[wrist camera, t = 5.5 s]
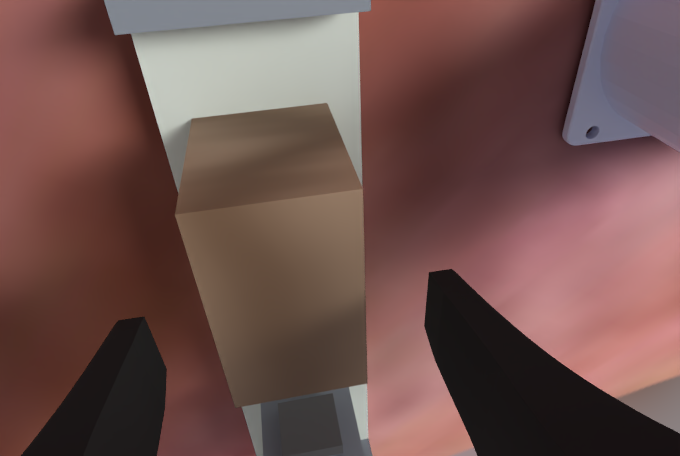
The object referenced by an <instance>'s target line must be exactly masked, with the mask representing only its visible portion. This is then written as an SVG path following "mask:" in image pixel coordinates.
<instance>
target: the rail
mask: <svg viewBox="0 0 680 456" xmlns="http://www.w3.org/2000/svg"><path fill="white" fill-rule="evenodd" d="M104 2H105V5H106V9H107V12H108V15H109V18H110V21H111V24H112V28H113V31H114V34H115V35H121V34H131V36H132V39H133V43H134V46H135V49H136V53H137V56H138V60H139V63H140V66H141V70H142V73H143V76H144V80H145V83H146V86H147V90H148V93H149V97H150V100H151V103H152V107H153V110H154V113H155V117H156V120H157V123H158V127H159V130H160V134H161V137H162V140H163V144H164V147H165V150H166V154H167V157H168V160H169V164H170V167H171V171H172V174H173V177H174V181H175V184H176V187H177V191H178V194H179V188H180V182H181V177H182V171H183V165H184V160H185V154H186V148H187V143H188V137H189V131H190V126H191V120H192V118H201V117H209V116H218V115H227V114H235V113H244V112H253V111H261V110H270V109H278V108H287V107H296V106H304V105H313V104H322V103H327V104H328V106H329V108H330V111H331V113H332V116H333V118H334V120H335V123H336V125H337V128H338V130H339V132H340V135H341V137H342V140H343V142H344V144H345V147H346V149H347V152H348V154H349V156H350V159H351V161H352V164H353V166H354V169H355V171H356V173H357V176H358V178H359V181H360V183H361V185H362V146H361V103H360V60H359V16H358V12H365V11H371V0H104ZM242 409H243V413H244V416H245V419H246V423H247V426H248V429H249V433H250V436H251V439H252V443H253V446H254V450H255V453H256V456H372V452H371V448H370V444H369V439H368V406H367V384H362V385H357V386H351V387H346V388H341V389H335V390H330V391H324V392H319V393H314V394H308V395H303V396H298V397H292V398H287V399H281V400H276V401H271V402H265V403H260V404H254V405H249V406H244V407H242Z"/></svg>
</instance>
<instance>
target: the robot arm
mask: <svg viewBox="0 0 680 456" xmlns="http://www.w3.org/2000/svg"><path fill="white" fill-rule="evenodd" d="M591 127H593V128H592V130H591V131H590V132H589V133H588V134H586V132H587V130H588V129H589V128H591ZM645 136H654V137H655V138H657V139H659V140H660V141H662V142H663V143H665V144H667V145H668V146H670V147H672V148H673V149H675V150H676V151H678V152H680V0H596V1H595V5H594V9H593V13H592V17H591V21H590V25H589V29H588V33H587V37H586V41H585V45H584V49H583V53H582V57H581V61H580V65H579V69H578V72H577V76H576V80H575V84H574V88H573V92H572V96H571V100H570V104H569V108H568V112H567V116H566V120H565V124H564V128H563V133H562V137H563V139H564V140H565V141H566V142H567V143H569V144H570V145H572V146H578V145H585V144H593V143H600V142H608V141H615V140H623V139H630V138H638V137H645ZM424 326H425V330H426V333H427V336H428V339H429V343H430V346H431V349H432V352H433V355H434V358H435V361H436V363H437V366H438V368H439V370H440V373H441V375H442V377H443V379H444V381H445V384H446V386H447V388H448V390H449V392H450V395H451V397H452V399H453V401H454V403H455V406H456V408H457V410H458V412H459V414H460V417H461V419H462V421H463V423H464V425H465V428H466V430H467V432H468V434H469V436H470V439H471V441H472V443H473V446H474V448H475V451H476V453H477V456H680V434H679V433H678V432H676V431H674V430H672V429H670V428H668V427H666V426H664V425H662V424H659V423H658V422H656V421H654V420H652V419H651V418H649V417H647V416H645V415H643V414H641V413H640V412H638V411H636V410H634V409H633V408H631V407H629V406H628V405H626V404H624V403H622V402H621V401H619V400H617V399H616V398H614V397H612V396H611V395H609V394H607V393H605V392H604V391H602V390H600V389H599V388H597V387H596V386H594V385H593V384H591V383H589V382H588V381H586V380H585V379H583V378H582V377H580V376H579V375H577V374H576V373H574V372H573V371H572V370H570V369H569V368H567V367H566V366H564V365H563V364H561V363H560V362H559V361H557V360H556V359H555V358H553V357H552V356H551V355H549V354H548V353H547V352H545V351H544V350H543V349H541V348H540V347H539V346H538V345H536V344H535V343H534V342H533V341H531V340H530V339H529V338H528V337H526V336H525V335H524V334H523V333H522V332H520V331H519V330H518V329H517V328H516V327H514V326H513V325H512V324H511V323H510V322H509V321H508V320H506V319H505V318H504V317H503V316H502V315H501V314H499V313H498V312H497V311H496V310H495V309H494V308H493V307H492V306H491V305H489V304H488V303H487V302H486V301H485V300H484V299H483V298H482V297H481V296H480V295H479V294H478V293H477V292H476V291H475V290H473V289H472V288H471V287H470V286H469V285H468V284H467V283H466V282H465V281H464V280H463V279H462V278H461V277H460V276H459V275H458V274H457V273H456V272H455V271H453V270H452V269H449V270H442V271H436V272H429V279H428V290H427V302H426V313H425V325H424ZM166 371H167V369H166V366H165V364H164V362H163V359H162V357H161V355H160V352H159V350H158V348H157V345H156V343H155V341H154V338H153V336H152V334H151V331H150V329H149V327H148V324H147V322H146V320H145V317H138V318H132V319H125V320H119V321H118V322H117V323H116V324H115V325H114V327H113V328H112V330H111V332H110V333H109V335H108V336H107V338H106V339H105V341H104V342H103V344H102V345H101V347H100V348H99V350H98V351H97V353H96V354H95V356H94V357H93V359H92V360H91V362H90V363H89V365H88V366H87V368H86V369H85V371H84V372H83V374H82V375H81V377H80V378H79V379H78V381H77V382H76V384H75V385H74V387H73V388H72V389H71V391H70V392H69V394H68V395H67V397H66V398H65V399H64V401H63V402H62V404H61V405H60V406H59V408H58V409H57V410H56V412H55V413H54V414H53V416H52V417H51V418H50V419H49V421H48V422H47V423H46V425H45V426H44V427H43V429H42V430H41V431H40V432H39V434H38V435H37V436H36V438H35V439H34V440H33V441H32V443H31V444H30V445H29V446H28V448H27V449H26V450H25V451H24V453H23V454H22V455H21V456H157V451H158V445H159V440H160V434H161V428H162V422H163V416H164V410H165V395H166Z"/></svg>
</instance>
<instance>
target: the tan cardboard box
mask: <svg viewBox="0 0 680 456" xmlns="http://www.w3.org/2000/svg"><path fill="white" fill-rule="evenodd" d="M175 217H176V220H177V223H178V226H179V230H180V233H181V236H182V239H183V242H184V246H185V249H186V252H187V255H188V258H189V262H190V265H191V268H192V271H193V274H194V278H195V281H196V284H197V287H198V290H199V294H200V297H201V300H202V303H203V306H204V310H205V313H206V316H207V319H208V322H209V326H210V329H211V332H212V335H213V338H214V342H215V345H216V348H217V351H218V354H219V358H220V361H221V364H222V367H223V370H224V374H225V377H226V380H227V383H228V386H229V390H230V393H231V396H232V399H233V402H234V406H235V408H238V407H244V406H249V405H254V404H260V403H265V402H271V401H276V400H281V399H287V398H292V397H298V396H303V395H308V394H314V393H319V392H324V391H330V390H335V389H341V388H346V387H351V386H357V385H362V384H367V346H366V301H365V257H364V213H363V188H362V185H361V183H360V181H359V178H358V176H357V173H356V171H355V169H354V166H353V164H352V161H351V159H350V156H349V154H348V152H347V149H346V147H345V144H344V142H343V140H342V137H341V135H340V132H339V130H338V128H337V125H336V123H335V120H334V118H333V116H332V113H331V111H330V108H329V106H328V104H327V103H322V104H313V105H304V106H296V107H287V108H278V109H270V110H261V111H253V112H244V113H235V114H227V115H218V116H209V117H201V118H192V120H191V126H190V131H189V137H188V143H187V148H186V154H185V160H184V165H183V171H182V177H181V182H180V188H179V194H178V199H177V205H176V211H175Z"/></svg>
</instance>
